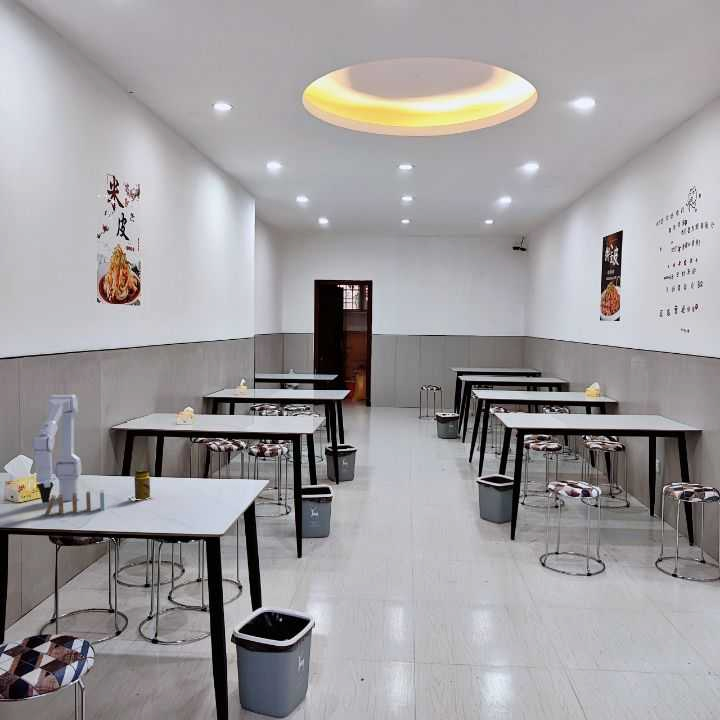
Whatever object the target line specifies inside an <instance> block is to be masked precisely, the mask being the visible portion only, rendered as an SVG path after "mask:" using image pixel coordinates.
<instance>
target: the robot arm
mask: <svg viewBox="0 0 720 720" xmlns="http://www.w3.org/2000/svg"><path fill="white" fill-rule="evenodd" d="M48 405H49V410H50V411H49V414H48V417H47V420H46V421H44V422H43V423H42V425H41V427H40V430H39V433H38V435H37V436H35V437H34V438H33V439H32V442H31V448H32V451H33V456H34V458H35V476H36V477H35V482H36V483H37V484H36V487H37V489H38V492H39V494H40V498H41V501H42V504H44V503H49V502H50V499H51V497H50V496H51V494H52V493H51V492H52V490H53V487H54V483H53V481H54V480H58V485H59V486H58V487H59V488H58V489H59V494H63V502H69V501H70V502H73V501H72V494H73V493H77V501H79V500H80V495H81V494H80V493H79V482H78V477H80V476H81V474H82V471H83V466H82V461H81V458H80V457H79V456H78V455H76V454H75V446H74V445H75V415H76V414H77V415H78V411H79V399H78V397H77V395H75V394H74V393H73V394H51V395H50V397H49V399H48ZM60 418H61V421H60ZM59 421H60V422H61V424H60V426H61V429H60V430H61V433H60V434H61V435H60V437H61V438H60V439H61V440H60V441H61V444H60V446H61V447H60V451H61V452H60V456H58V457H57V458H56V459H54V466H53V457H52V456H53V452H52V451H53V449H54V446H55V436H56V434H57V431H58V429H59V427H58V423H59ZM53 474H54V476H53Z"/></svg>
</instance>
